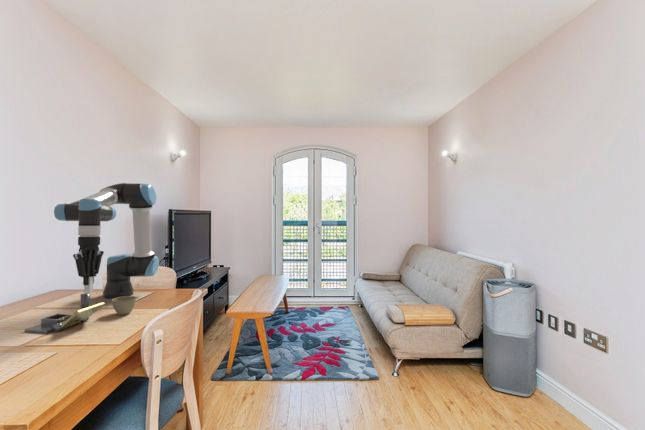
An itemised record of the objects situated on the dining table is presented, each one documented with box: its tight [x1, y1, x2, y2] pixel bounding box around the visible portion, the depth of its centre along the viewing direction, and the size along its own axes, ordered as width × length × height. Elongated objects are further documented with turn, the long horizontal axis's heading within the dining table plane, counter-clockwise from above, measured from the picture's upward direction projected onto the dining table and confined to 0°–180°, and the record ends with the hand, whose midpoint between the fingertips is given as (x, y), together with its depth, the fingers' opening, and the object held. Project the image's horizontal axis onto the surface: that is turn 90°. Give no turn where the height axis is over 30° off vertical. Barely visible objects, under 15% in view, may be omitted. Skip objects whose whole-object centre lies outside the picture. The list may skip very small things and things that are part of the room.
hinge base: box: [24, 313, 90, 334], centre depth 136 cm, size 18×13×4 cm
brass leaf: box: [60, 301, 106, 329], centre depth 135 cm, size 13×13×3 cm
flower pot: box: [111, 295, 137, 316], centre depth 153 cm, size 10×10×7 cm
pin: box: [79, 292, 91, 310], centre depth 149 cm, size 4×4×10 cm
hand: (88, 292), depth 134 cm, fingers closed
